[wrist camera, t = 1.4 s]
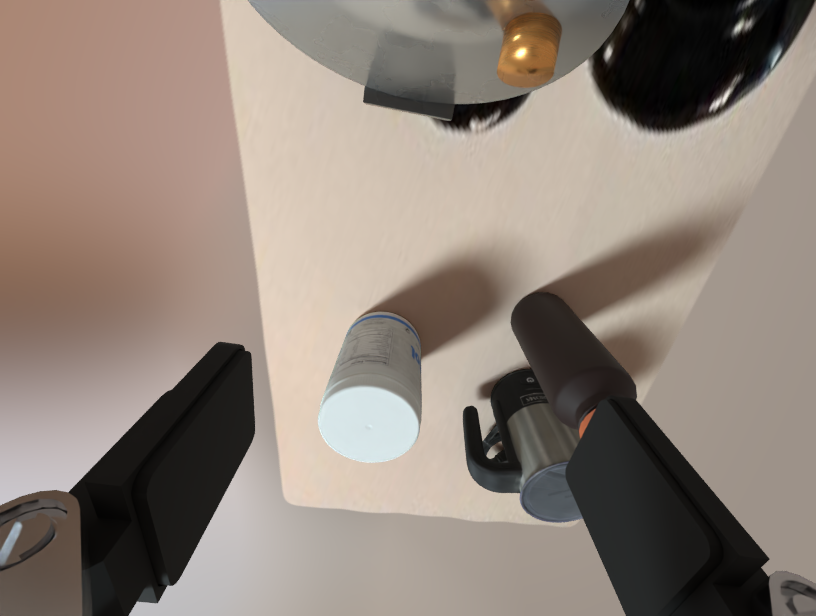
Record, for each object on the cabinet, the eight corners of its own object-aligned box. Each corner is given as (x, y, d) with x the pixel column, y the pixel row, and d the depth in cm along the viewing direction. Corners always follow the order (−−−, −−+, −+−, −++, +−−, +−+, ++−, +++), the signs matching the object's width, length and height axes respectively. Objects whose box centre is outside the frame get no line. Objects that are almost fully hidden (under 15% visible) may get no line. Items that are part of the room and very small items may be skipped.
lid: (15, -493, 6) (9, -307, 6) (840, -258, 7) (800, -106, 7) (287, 54, 22) (281, 100, 22) (532, 103, 23) (523, 147, 23)
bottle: (573, 326, 43) (687, 464, 25) (521, 348, 45) (592, 492, 27) (556, 281, 40) (668, 398, 22) (501, 306, 42) (565, 434, 24)
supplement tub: (428, 364, 46) (433, 457, 33) (359, 378, 47) (337, 473, 34) (409, 299, 42) (407, 376, 29) (334, 316, 43) (299, 397, 30)
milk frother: (551, 358, 45) (607, 452, 32) (575, 441, 52) (630, 547, 38) (447, 391, 48) (459, 490, 35) (482, 465, 54) (504, 573, 41)
